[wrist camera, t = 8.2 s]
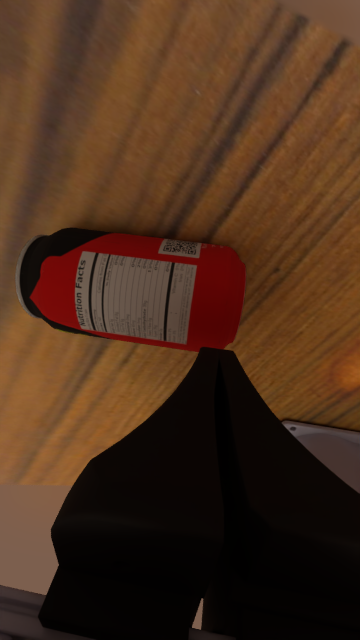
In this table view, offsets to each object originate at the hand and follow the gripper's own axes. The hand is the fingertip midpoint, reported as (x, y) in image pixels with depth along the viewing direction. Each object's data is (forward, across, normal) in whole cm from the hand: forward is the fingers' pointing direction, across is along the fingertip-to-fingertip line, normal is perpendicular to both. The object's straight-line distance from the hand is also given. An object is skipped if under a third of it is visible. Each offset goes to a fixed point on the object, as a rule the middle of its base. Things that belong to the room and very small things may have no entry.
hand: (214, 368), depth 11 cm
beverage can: (+6, -1, -1) cm, 6 cm away
